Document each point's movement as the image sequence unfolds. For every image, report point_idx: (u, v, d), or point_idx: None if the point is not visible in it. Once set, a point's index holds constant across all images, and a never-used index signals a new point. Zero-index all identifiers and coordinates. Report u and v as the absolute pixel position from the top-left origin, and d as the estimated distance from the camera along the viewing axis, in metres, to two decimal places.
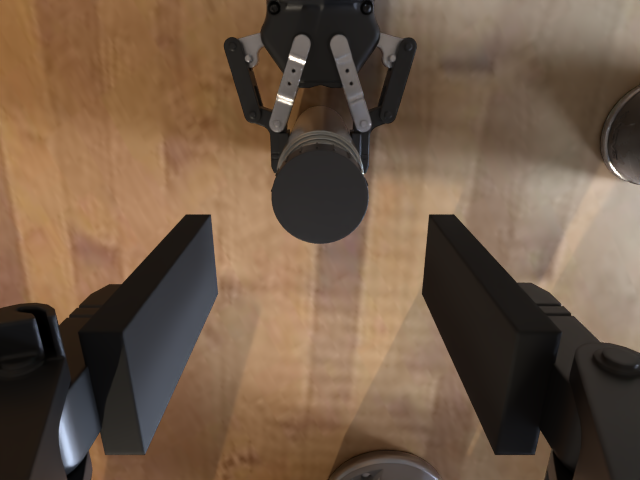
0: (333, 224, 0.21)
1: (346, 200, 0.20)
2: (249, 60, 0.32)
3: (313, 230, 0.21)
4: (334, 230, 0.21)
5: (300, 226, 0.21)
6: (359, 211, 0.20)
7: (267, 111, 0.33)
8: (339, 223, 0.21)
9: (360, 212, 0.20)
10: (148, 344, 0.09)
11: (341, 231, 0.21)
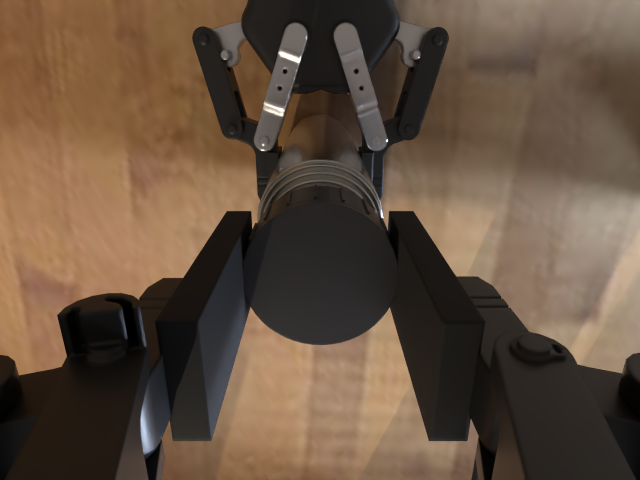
0: (341, 316, 0.13)
1: (363, 281, 0.13)
2: (226, 57, 0.24)
3: (309, 325, 0.13)
4: (343, 325, 0.13)
5: (289, 319, 0.13)
6: (383, 297, 0.13)
7: (251, 124, 0.26)
8: (351, 315, 0.13)
9: (385, 299, 0.13)
10: (213, 333, 0.09)
11: (354, 327, 0.13)
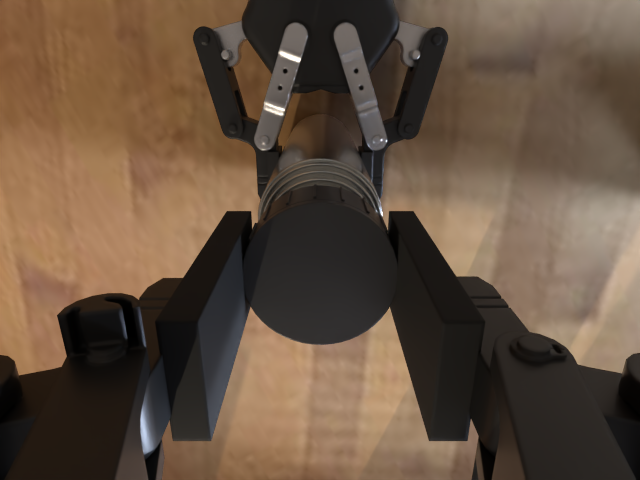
0: (348, 239, 0.12)
1: (300, 242, 0.12)
2: (227, 57, 0.24)
3: (373, 261, 0.12)
4: (356, 233, 0.12)
5: (377, 281, 0.13)
6: (305, 214, 0.12)
7: (252, 123, 0.26)
8: (341, 232, 0.12)
9: (306, 212, 0.12)
10: (213, 333, 0.09)
11: (352, 222, 0.12)
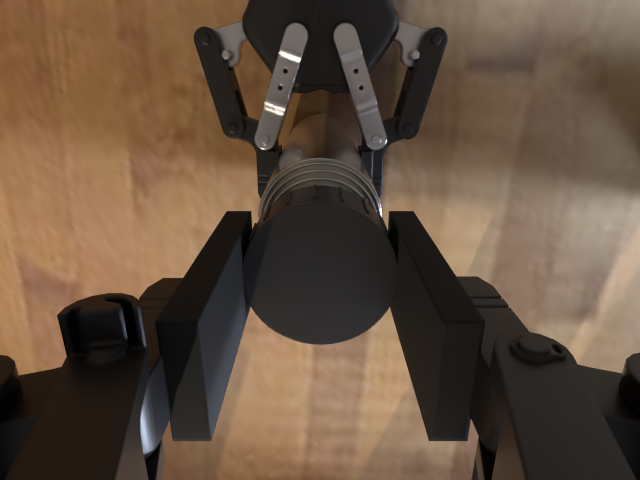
0: (270, 275, 0.13)
1: (297, 310, 0.13)
2: (227, 57, 0.24)
3: (276, 244, 0.12)
4: (260, 272, 0.12)
5: (293, 229, 0.12)
6: (271, 317, 0.13)
7: (252, 123, 0.26)
8: (268, 284, 0.13)
9: (269, 318, 0.13)
10: (213, 334, 0.09)
11: (254, 281, 0.13)
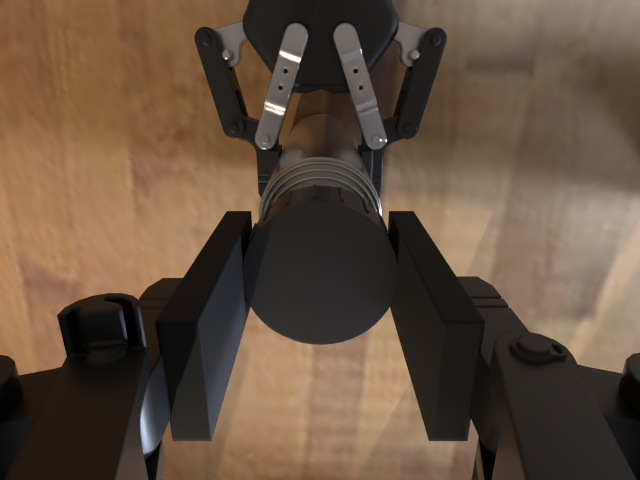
0: (342, 316, 0.13)
1: (363, 280, 0.13)
2: (228, 57, 0.24)
3: (310, 325, 0.13)
4: (343, 325, 0.13)
5: (289, 319, 0.13)
6: (383, 296, 0.13)
7: (252, 123, 0.26)
8: (351, 315, 0.13)
9: (385, 298, 0.13)
10: (213, 333, 0.09)
11: (355, 326, 0.13)
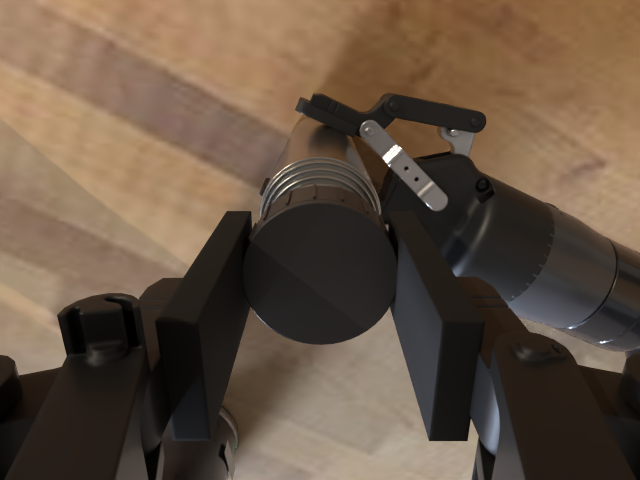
0: (342, 316, 0.13)
1: (363, 280, 0.13)
2: (451, 133, 0.26)
3: (310, 325, 0.13)
4: (343, 325, 0.13)
5: (289, 319, 0.13)
6: (383, 296, 0.13)
7: (387, 124, 0.26)
8: (351, 315, 0.13)
9: (385, 298, 0.13)
10: (213, 334, 0.09)
11: (354, 326, 0.13)
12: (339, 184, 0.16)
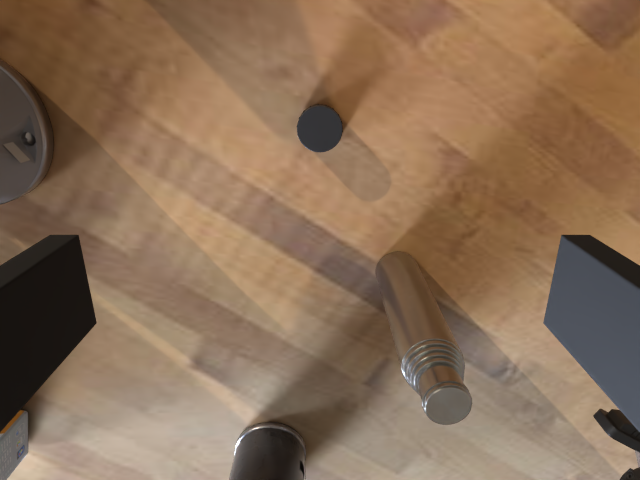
0: (326, 142, 0.44)
1: (332, 130, 0.43)
2: None
3: (316, 145, 0.44)
4: (326, 145, 0.44)
5: (310, 143, 0.44)
6: (338, 135, 0.44)
7: None
8: (329, 141, 0.44)
9: (338, 136, 0.44)
10: None
11: (330, 145, 0.44)
12: (450, 359, 0.33)
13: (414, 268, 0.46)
